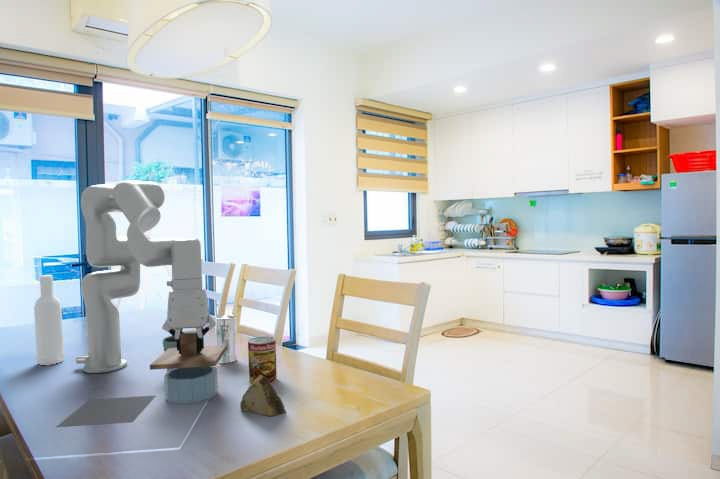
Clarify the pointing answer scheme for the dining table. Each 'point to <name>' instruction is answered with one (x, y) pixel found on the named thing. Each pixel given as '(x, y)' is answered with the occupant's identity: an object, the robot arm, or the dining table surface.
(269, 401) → the rock
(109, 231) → the robot arm
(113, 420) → the board
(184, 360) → the lid
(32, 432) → the dining table surface
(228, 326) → the beer glass
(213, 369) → the bowl
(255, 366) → the canned food
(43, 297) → the bottle
